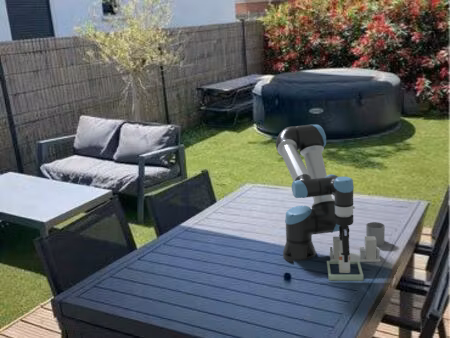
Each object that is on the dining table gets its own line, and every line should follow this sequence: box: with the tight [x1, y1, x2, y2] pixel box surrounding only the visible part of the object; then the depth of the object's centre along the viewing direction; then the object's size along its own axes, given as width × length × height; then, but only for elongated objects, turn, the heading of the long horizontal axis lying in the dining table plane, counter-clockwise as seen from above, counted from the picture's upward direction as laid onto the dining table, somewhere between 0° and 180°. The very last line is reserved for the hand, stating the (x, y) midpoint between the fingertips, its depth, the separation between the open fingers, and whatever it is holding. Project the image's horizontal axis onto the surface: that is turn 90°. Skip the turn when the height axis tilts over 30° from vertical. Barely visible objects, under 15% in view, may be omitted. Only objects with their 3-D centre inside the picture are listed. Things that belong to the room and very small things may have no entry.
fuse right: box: [364, 235, 377, 259], centre depth 220 cm, size 4×4×9 cm
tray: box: [326, 260, 364, 282], centre depth 211 cm, size 14×14×2 cm
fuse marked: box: [338, 251, 351, 274], centre depth 210 cm, size 4×4×9 cm
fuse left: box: [332, 236, 340, 259], centre depth 222 cm, size 4×4×9 cm
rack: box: [329, 246, 381, 263], centre depth 222 cm, size 21×9×6 cm, turn 82°
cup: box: [365, 221, 386, 246], centre depth 236 cm, size 8×8×10 cm
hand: (344, 261), depth 210 cm, fingers open, 13 cm apart
